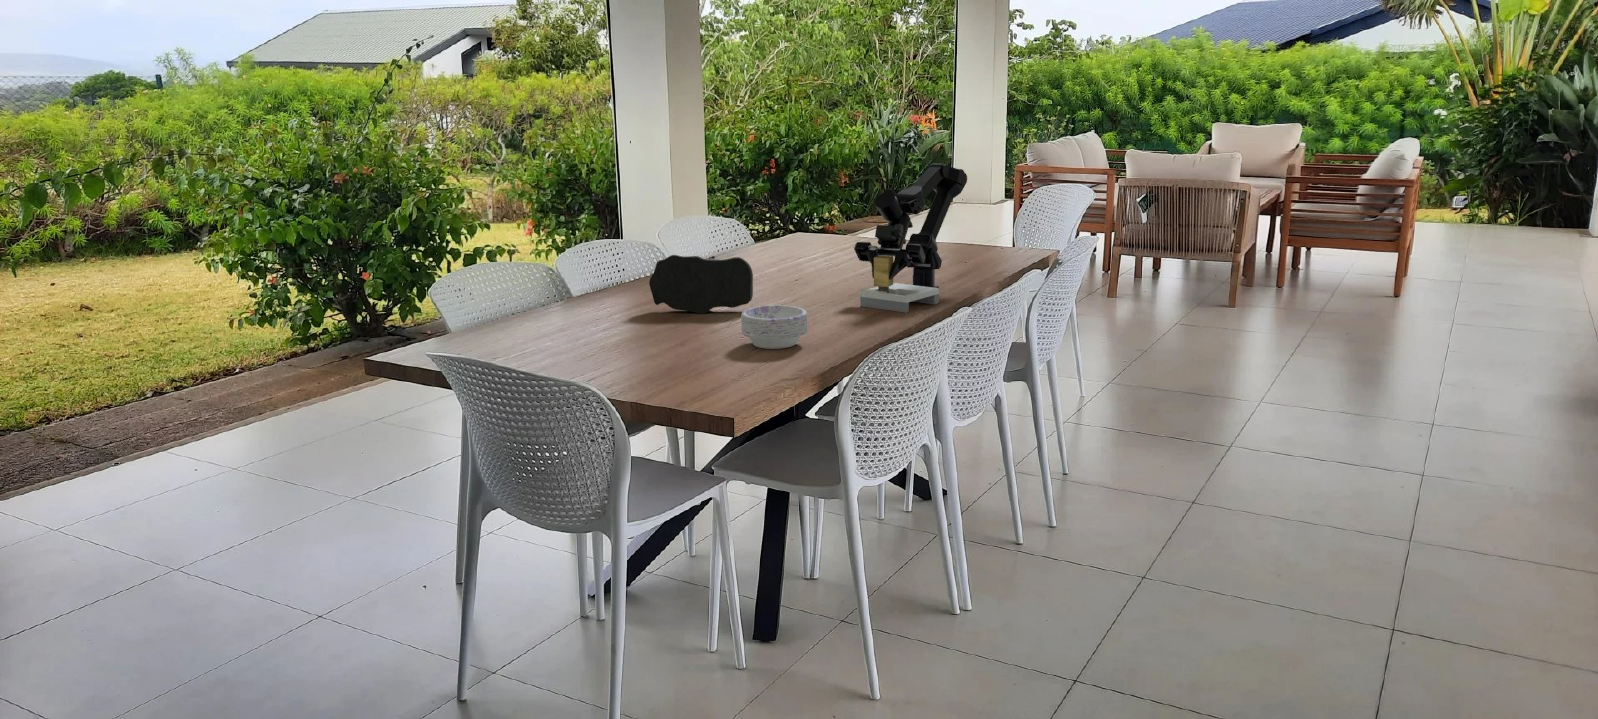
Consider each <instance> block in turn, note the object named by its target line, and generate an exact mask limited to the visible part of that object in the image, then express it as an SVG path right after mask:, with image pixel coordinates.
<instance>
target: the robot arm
mask: <svg viewBox="0 0 1598 719" xmlns="http://www.w3.org/2000/svg"><path fill="white" fill-rule="evenodd" d="M927 167H928V168H927V170H926V171H924V173H923V174H922V175H920V177H919V178H918V179H917V180H915V183H913V185H911V186H910V187H906V188H904V189H902V190H900V191H899V192H897V193H896V191H895V188H893V189H892V188H887V189H886V191H885V192H882V193H881V194H879V195H878V196H876V198H875V201H874V205H875V207H876V209H877V210H878V212H879V214H880V215H881V216H882V218H883V219H884V221H886V222H887V221H888V222H887V224H886V225H885V224H877V225H876V227H875V235H874V238H877V244H878V246H877V245H872V243H871V242H870V241H857V242H856V243H855V245H854V247H853V250H854V252H855V254H856V256H857V259H858V261H860V262H866V263H867V262H869V263H870V264H871V272H872V273H871V276H872V279H873V280H874V258H875V257H877V256H893V258H894V259H893V265H892V268H891V271H890V274H889V279H890V280H891V279H892V278H893V279H894V278H895V276H897V275H898V274H899V273H900V272H901V271H902V270H904V269H906V267H907V268H913V269H912V270H913V271H912V285H916V286H924V287H933V288H940V286H938V285H935V284H936V283H935V279H936V277H935V276H936V274H935V273H936V270H940V268H941V267H942V258H941V256H940V255H939V253H938V249H939V248H938V245H937V238H938V236H939V232H940V230H941V228H942V225H943V223H944V221H945V218H946V215H947V213H948V211H949V209H950V206H951V204H952V201H953V199H954V198H956V197H958V196H959V195H960V194H961V193H962V192H963V190H964V188H965V186H966V185H967V182H968V175H967V174H966V172H965V171H964V169H962V168H956V167H952V166H950V165H948V164H945V163H935V162H934V163H930V164H929V165H928V166H927ZM935 189H936V193H935V196H934V198H933V201H932V203H931V206H930V207H929V210H928V212H927V214H926V217H925V219H924V222H923V224H922V227H921V228H920V231H919V232H917V233H911V235H910V237H909V239H908V242H907V240H906V236H907V233H908V230H909V228H913V226H914V225H913V223H912V221H911V217H910V215H918V214H920V213H921V212H922V209H923V208H924V207H925V205H926V204H925V199H926V198H927V196H929V194H930V193H931V192H932V191H933V190H935ZM879 245H880V246H879ZM904 245H905V248H903V247H904Z"/></svg>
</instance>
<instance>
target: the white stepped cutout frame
mask: <svg viewBox="0 0 1598 719" xmlns="http://www.w3.org/2000/svg"><path fill="white" fill-rule="evenodd" d="M939 288H940V287H939ZM939 288H933V287H924V286H916V285H913V284H909V283H898V282H893V285H891V286H889V293H887V292H884V291H878V286H874V287H870V288H866V289H864V290H863V289H862V290H860V292H859V293H860V296H859V298H860V299H859V300H860V305H859V306H860V307H863V308H869V309H871V308H873V309H878V310H884V311H885V310H886V311H893V312H901V313H909V312H910V306H909V305H910V302H914V303H920V304H921V303H922V304H928V305H938V304H940V300H939V299H940V289H939Z"/></svg>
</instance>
